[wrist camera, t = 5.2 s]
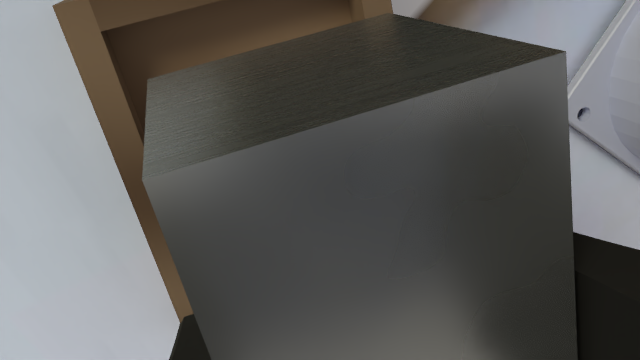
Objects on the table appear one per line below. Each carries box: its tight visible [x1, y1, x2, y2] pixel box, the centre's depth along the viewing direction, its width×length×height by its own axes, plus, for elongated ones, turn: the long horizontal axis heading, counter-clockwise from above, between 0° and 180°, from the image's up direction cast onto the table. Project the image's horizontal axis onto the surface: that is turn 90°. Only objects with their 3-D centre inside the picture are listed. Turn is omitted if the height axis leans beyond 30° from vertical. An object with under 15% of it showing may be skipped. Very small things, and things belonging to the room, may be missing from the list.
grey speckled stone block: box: [142, 13, 578, 360], centre depth 9 cm, size 4×8×5 cm, turn 13°
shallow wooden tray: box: [53, 0, 393, 323], centre depth 17 cm, size 12×8×2 cm
